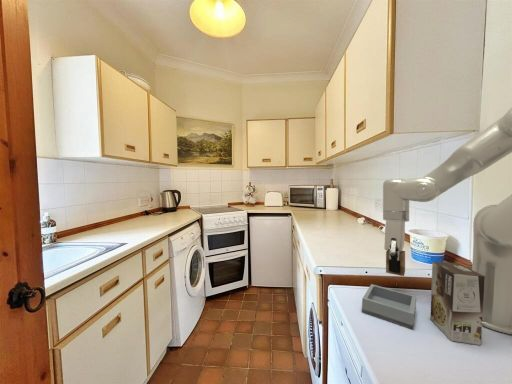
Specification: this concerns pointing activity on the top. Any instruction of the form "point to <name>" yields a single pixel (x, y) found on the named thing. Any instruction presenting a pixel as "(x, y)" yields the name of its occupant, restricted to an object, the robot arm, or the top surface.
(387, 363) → the top surface
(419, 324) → the top surface
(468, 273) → the coffee box
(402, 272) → the walnut block
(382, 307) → the tray
